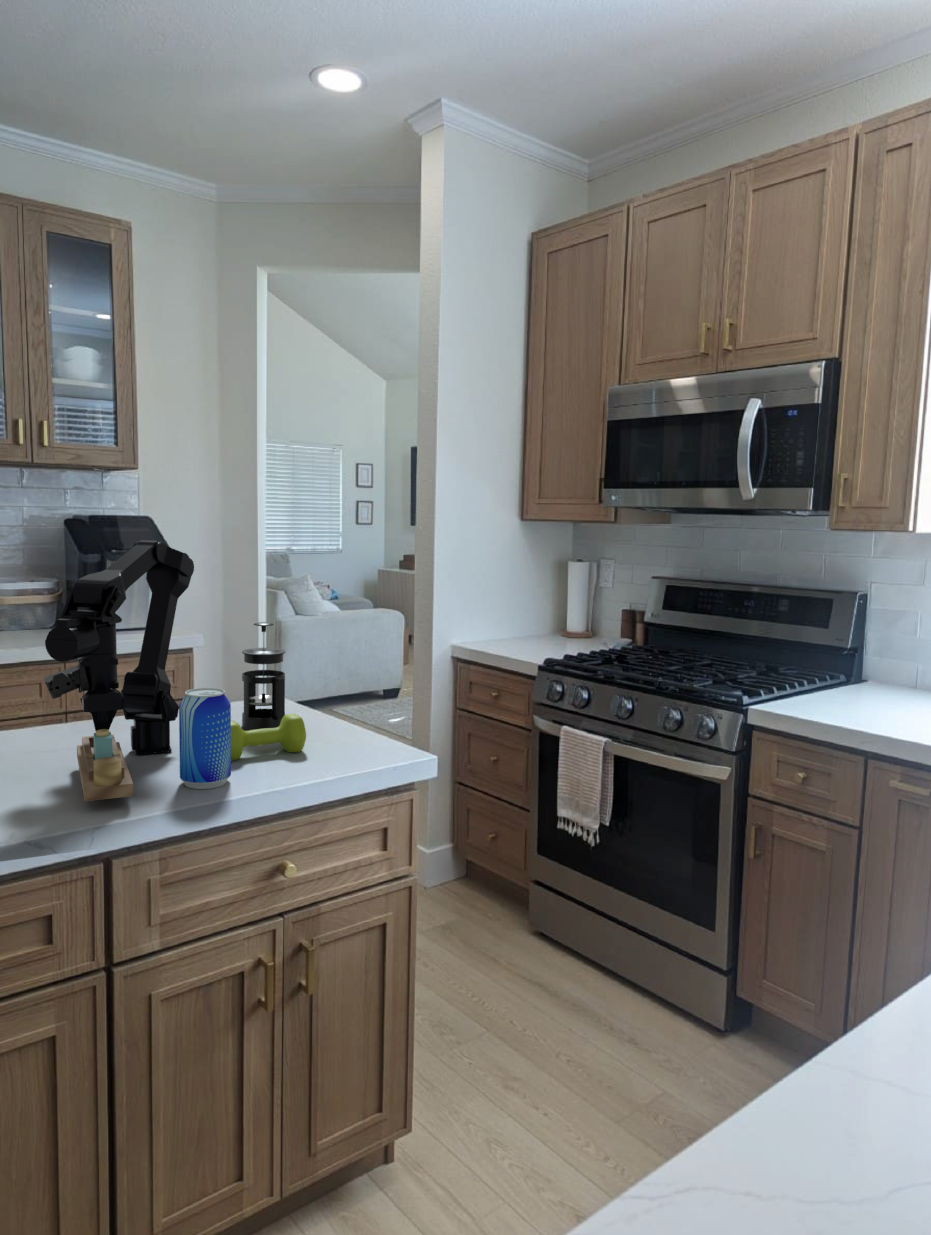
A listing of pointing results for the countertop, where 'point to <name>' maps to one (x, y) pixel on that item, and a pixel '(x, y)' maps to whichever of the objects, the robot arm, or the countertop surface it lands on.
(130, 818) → the countertop surface
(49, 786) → the countertop surface
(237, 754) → the dumbbell
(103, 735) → the block
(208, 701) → the beer can
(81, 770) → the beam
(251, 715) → the french press
